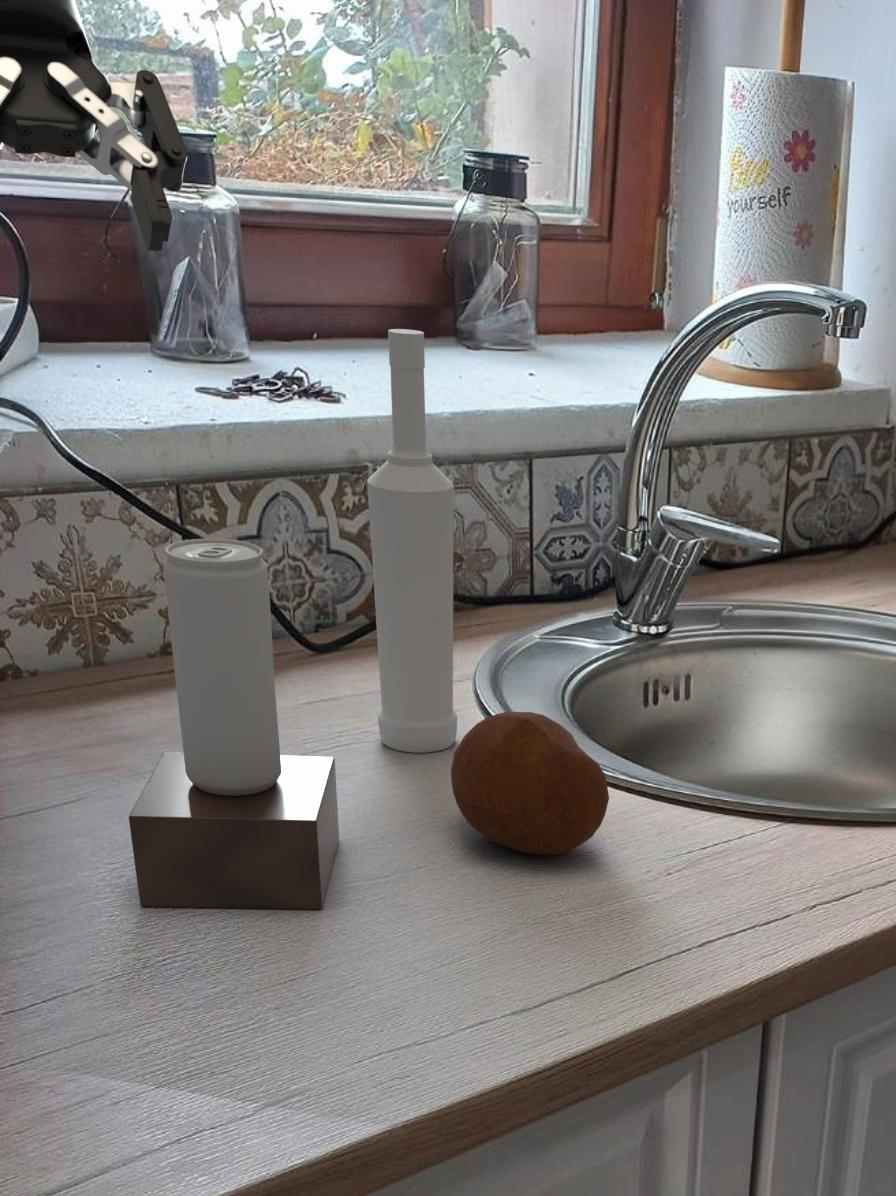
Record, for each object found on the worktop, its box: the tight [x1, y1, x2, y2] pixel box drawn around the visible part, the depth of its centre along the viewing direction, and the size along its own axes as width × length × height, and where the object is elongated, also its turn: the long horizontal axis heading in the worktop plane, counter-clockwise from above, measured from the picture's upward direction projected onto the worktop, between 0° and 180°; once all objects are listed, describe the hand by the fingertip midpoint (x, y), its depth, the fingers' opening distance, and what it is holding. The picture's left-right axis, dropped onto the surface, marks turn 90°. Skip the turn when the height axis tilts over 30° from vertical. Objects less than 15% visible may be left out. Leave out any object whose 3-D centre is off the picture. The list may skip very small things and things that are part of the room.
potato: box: [450, 711, 610, 856], centre depth 87 cm, size 8×11×8 cm
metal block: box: [128, 751, 340, 910], centre depth 81 cm, size 9×9×5 cm
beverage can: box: [162, 538, 281, 796], centre depth 77 cm, size 5×5×12 cm
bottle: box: [366, 328, 458, 754], centre depth 95 cm, size 5×5×25 cm
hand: (76, 237), depth 83 cm, fingers open, 8 cm apart
